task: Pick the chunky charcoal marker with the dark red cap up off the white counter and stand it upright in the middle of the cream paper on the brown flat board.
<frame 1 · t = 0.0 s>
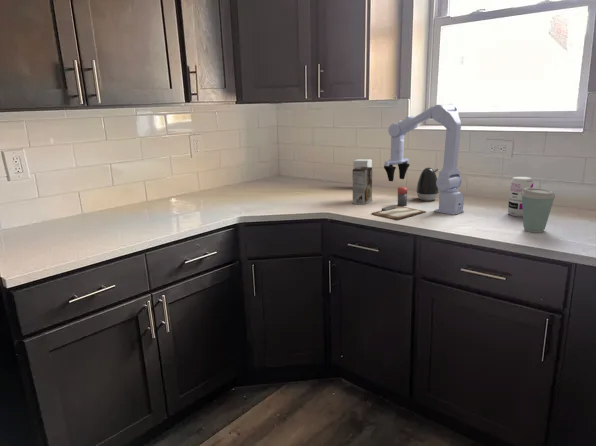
hand: (396, 180, 216), 10 cm above the worktop, tool pointing down, fingers open, 7 cm apart
disposable coffee cup: (534, 231, 167), on the worktop
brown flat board: (398, 213, 197), on the worktop
marker: (402, 205, 211), on the worktop
pump dispenser: (427, 200, 221), on the worktop
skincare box: (362, 189, 251), on the worktop
coffee box: (362, 202, 220), on the worktop
supplement can: (518, 215, 189), on the worktop
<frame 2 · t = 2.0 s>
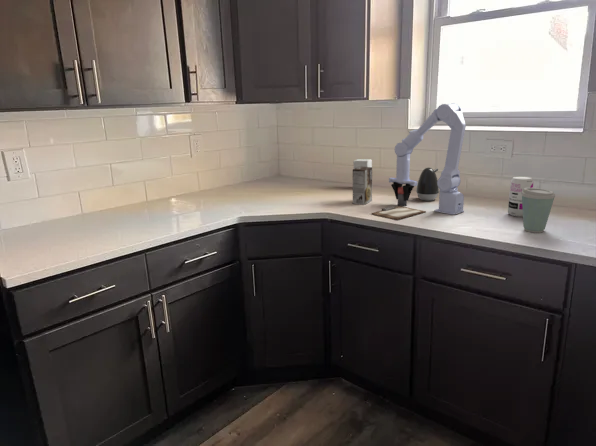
hand: (402, 199, 211), 2 cm above the worktop, tool pointing down, fingers closed on marker, 4 cm apart
marker: (402, 205, 211), on the worktop, touching gripper
everything else where it was.
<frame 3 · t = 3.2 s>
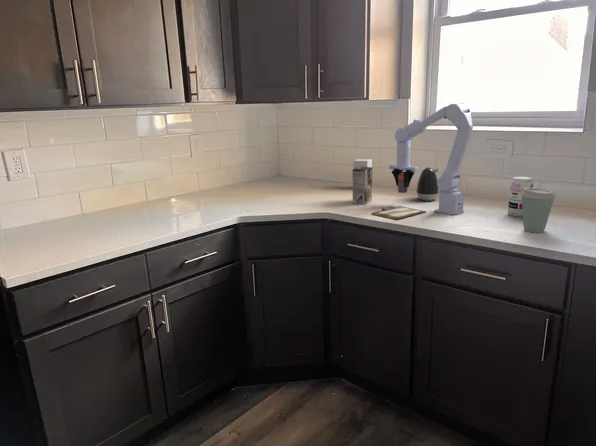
hand: (402, 186, 209), 9 cm above the worktop, tool pointing down, fingers closed on marker, 4 cm apart
marker: (402, 191, 210), point 6 cm above the worktop, touching gripper
everything else where it was.
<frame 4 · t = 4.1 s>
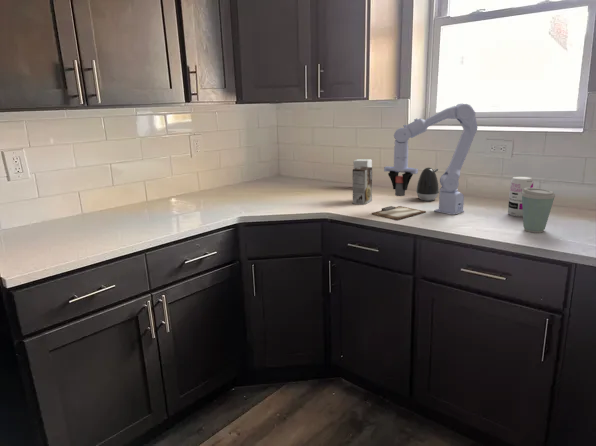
hand: (400, 189, 198), 9 cm above the worktop, tool pointing down, fingers closed on marker, 4 cm apart
marker: (399, 195, 199), point 7 cm above the worktop, touching gripper
everything else where it was.
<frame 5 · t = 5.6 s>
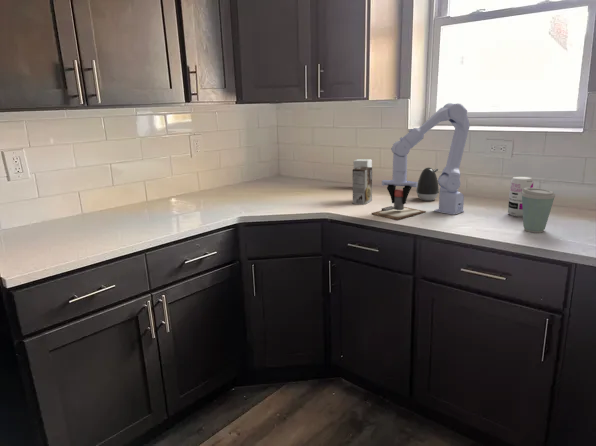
hand: (398, 203, 196), 4 cm above the worktop, tool pointing down, fingers closed on marker, 4 cm apart
marker: (398, 208, 196), point 2 cm above the worktop, touching gripper
everything else where it was.
when the fingers open (4 cm above the worktop, at t = 6.5 s): marker stays where it is, resting on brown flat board.
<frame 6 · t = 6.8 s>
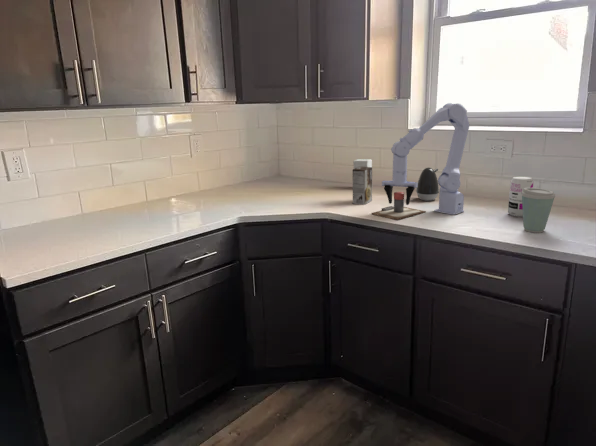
hand: (398, 203, 196), 4 cm above the worktop, tool pointing down, fingers open, 7 cm apart
marker: (398, 211, 197), point 1 cm above the worktop, touching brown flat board
everything else where it was.
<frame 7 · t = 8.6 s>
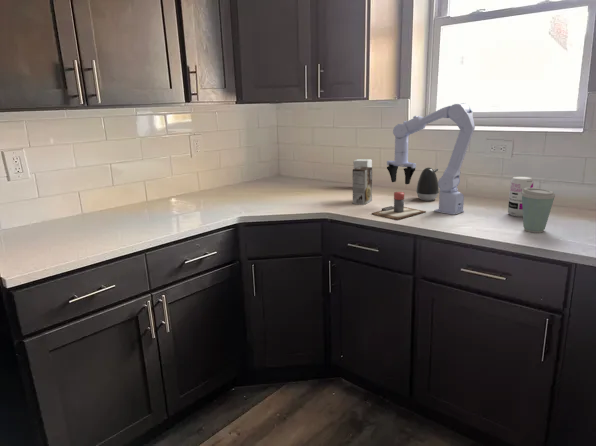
hand: (400, 182, 207), 10 cm above the worktop, tool pointing down, fingers open, 7 cm apart
nothing on the worktop moved.
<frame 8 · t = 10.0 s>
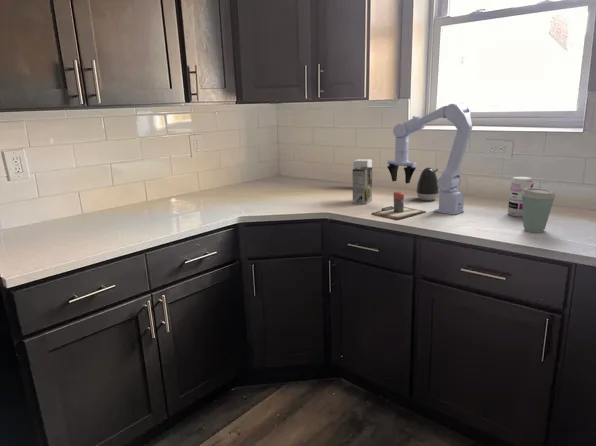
hand: (400, 182, 209), 10 cm above the worktop, tool pointing down, fingers open, 7 cm apart
nothing on the worktop moved.
at the end: marker inside the target area on the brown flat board (0.1 cm from its centre), point 0.8 cm above the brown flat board's base; marker tilted 1°; the gripper is holding nothing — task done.
